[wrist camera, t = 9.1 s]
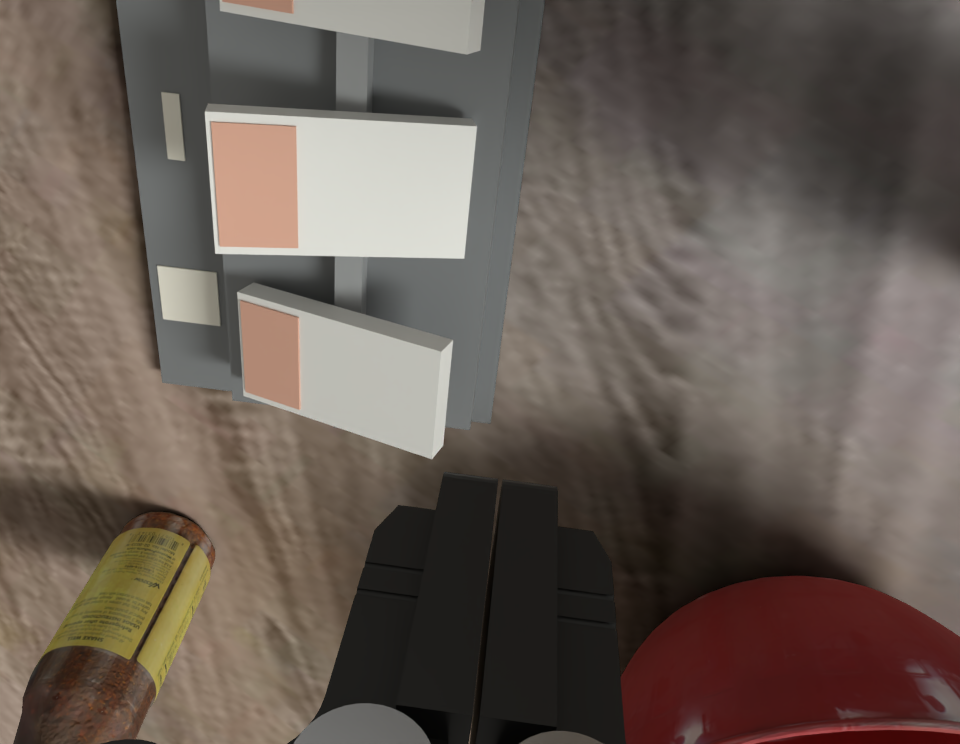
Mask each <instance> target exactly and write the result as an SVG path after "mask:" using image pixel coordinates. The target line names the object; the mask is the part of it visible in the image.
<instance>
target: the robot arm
mask: <svg viewBox="0 0 960 744" xmlns="http://www.w3.org/2000/svg"><path fill="white" fill-rule="evenodd" d="M497 485H498V479H494V478H487V477H479V476H472V475H465V474H457V473H450V472H444V474H443V479H442V483H441V488H440V493H439V498H438V503H437V508H436V510H431V509H423V508H416V507H409V506H401V505H398V506H397V507H396V508H395V509H394V511H393V512H392V513H391V514H390V515H389V516H388V517H387V518H386V519H385V520H384V521H383V522H382V523H381V524H380V525H379V526H378V527H377V528H376V529H375V531H374V534H373V537H372V541H371V544H370V548H369V551H368V554H367V558H366V561H365V567H364V568H363V571H362V574H361V578H360V581H359V584H358V588H357V594H356V595H355V598H354V601H353V605H352V608H351V611H350V615H349V618H348V621H347V625H346V628H345V631H344V635H343V638H342V641H341V645H340V648H339V651H338V655H337V658H336V662H335V665H334V668H333V672H332V675H331V678H330V682H329V685H328V688H327V692H326V695H325V698H324V700H323V703H322V705H321V708H320V709H319V711H318V713H317V714H316V716H315V718H314V719H313V720H312V722H311V723H310V724H309V725H308V726H307V727H306V728H305V729H304V730H303V731H302V732H301V733H300V734H299V735H298V736H297V737H296V738H295V739H293V740H292V741H291V742H289V743H288V744H468V742H469V736H470V729H471V737H470V744H626V739H625V728H624V715H623V703H622V690H621V677H620V665H619V652H618V640H617V631H616V614H615V602H613V599H614V589H613V576H612V564H611V561H610V559H609V557H608V556H607V554H606V552H605V551H604V549H603V547H602V546H601V544H600V542H599V541H598V539H597V537H596V536H595V534H594V532H593V531H587V530H579V529H572V528H565V527H558V491H557V487H555V486H548V485H540V484H533V483H526V482H518V481H511V480H503V481H502V486H501V493H500V500H499V507H498V513H497V520H496V527H495V534H494V541H493V548H492V554H491V561H490V568H489V559H490V550H491V541H492V531H493V522H494V513H495V504H496V494H497ZM488 568H489V575H488ZM487 577H488V583H487ZM486 587H487V591H486ZM485 596H486V599H485ZM484 605H485V608H484ZM483 614H484V617H483ZM482 624H483V626H482ZM481 633H482V635H481ZM480 642H481V644H480ZM479 651H480V654H479ZM478 661H479V663H478ZM477 670H478V672H477ZM476 679H477V681H476ZM475 688H476V691H475ZM474 698H475V700H474ZM473 707H474V709H473ZM472 716H473V719H472ZM471 723H472V728H471ZM102 744H156V743H153V742H149V741H144V740H137V739H123V740H115V741H109V742H106V743H102Z"/></svg>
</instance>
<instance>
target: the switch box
mask: <svg viewBox="0 0 960 744" xmlns="http://www.w3.org/2000/svg"><path fill="white" fill-rule="evenodd" d="M116 4H117V12H118V20H119V29H120V37H121V45H122V53H123V62H124V70H125V78H126V86H127V95H128V103H129V111H130V119H131V128H132V136H133V144H134V152H135V161H136V169H137V177H138V186H139V194H140V202H141V210H142V219H143V227H144V235H145V243H146V252H147V260H148V268H149V276H150V285H151V293H152V301H153V309H154V318H155V326H156V334H157V343H158V351H159V359H160V367H161V376H162V383H170V384H178V385H186V386H194V387H202V388H210V389H217V390H225V391H232V399H233V400H234V401H242V402H250V403H258V404H266V403H263V402H260V401H257V400H254V399H251V398H248V397H245V396H243V379H242V363H241V346H240V330H239V313H238V297H237V292H238V291H240V290H241V289H243V288H245V287H247V286H248V285H250V284H252V283H257V284H261V285H264V286H268V287H271V288H275V289H278V290H282V291H285V292H289V293H292V294H295V295H299V296H302V297H306V298H309V299H313V300H316V301H320V302H323V303H327V304H330V305H334V306H337V307H341V308H344V309H348V310H351V311H354V312H358V313H361V314H365V315H368V316H372V317H375V318H379V319H382V320H386V321H389V322H393V323H396V324H400V325H403V326H407V327H410V328H414V329H417V330H420V331H424V332H427V333H431V334H434V335H438V336H441V337H445V338H448V339H452V340H453V346H452V357H451V368H450V378H449V389H448V400H447V410H446V421H445V427H449V428H457V429H465V430H470V426H471V421H472V422H480V423H488V424H490V423H491V415H492V408H493V400H494V392H495V384H496V376H497V369H498V361H499V353H500V345H501V338H502V330H503V322H504V314H505V307H506V299H507V291H508V283H509V276H510V268H511V260H512V252H513V245H514V237H515V229H516V221H517V214H518V206H519V198H520V190H521V183H522V175H523V167H524V159H525V152H526V144H527V136H528V128H529V120H530V113H531V105H532V97H533V89H534V82H535V74H536V66H537V58H538V51H539V43H540V35H541V27H542V20H543V12H544V4H545V0H485V6H484V17H483V27H482V38H481V49H480V51H477V52H474V53H471V54H467V55H466V54H461V53H455V52H449V51H444V50H438V49H432V48H427V47H421V46H415V45H410V44H404V43H398V42H393V41H387V40H381V39H376V38H370V37H364V36H359V35H353V34H347V33H342V32H336V31H330V30H325V29H319V28H314V27H308V26H302V25H297V24H291V23H285V22H280V21H274V20H268V19H263V18H257V17H251V16H246V15H240V14H234V13H229V12H223V11H220V1H219V0H116ZM208 104H225V105H243V106H260V107H278V108H296V109H313V110H331V111H348V112H366V113H383V114H401V115H418V116H436V117H453V118H471V119H472V120H473V121H474V123H475V124H476V126H477V132H476V142H475V152H474V163H473V173H472V183H471V194H470V204H469V215H468V225H467V235H466V246H465V256H464V259H454V258H403V257H351V256H300V255H249V254H215V243H214V230H213V216H212V203H211V190H210V176H209V163H208V149H207V136H206V122H205V110H206V107H207V105H208ZM266 405H269V404H266ZM336 428H337V427H336Z"/></svg>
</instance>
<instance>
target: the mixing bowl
mask: <svg viewBox="0 0 960 744" xmlns="http://www.w3.org/2000/svg"><path fill="white" fill-rule="evenodd" d="M621 690H622V703H623V715H624V728H625V739H626V744H960V637H959V636H958V635H956V634H955V633H953V632H952V631H950V630H949V629H947V628H946V627H944V626H943V625H941V624H940V623H938V622H936V621H935V620H933V619H932V618H930V617H928V616H927V615H925V614H923V613H922V612H920V611H918V610H917V609H915V608H913V607H911V606H910V605H908V604H906V603H904V602H902V601H899V600H897V599H895V598H893V597H891V596H889V595H887V594H885V593H883V592H880V591H877V590H874V589H872V588H869V587H866V586H862V585H858V584H854V583H850V582H846V581H842V580H837V579H831V578H821V577H811V576H782V577H765V578H759V579H754V580H750V581H745V582H740V583H736V584H732V585H729V586H726V587H723V588H721V589H718V590H715V591H713V592H710V593H707V594H705V595H703V596H700V597H699V598H697V599H695V600H694V601H692V602H690V603H688V604H687V605H685V606H683V607H681V608H680V609H678V610H677V611H676V612H674V613H673V614H672V615H671V616H669V617H668V618H667V619H666V620H665V621H663V622H662V623H661V624H660V625H659V626H658V627H657V628H656V629H655V630H654V631H653V632H652V633H651V634H650V635H649V636H648V637H647V638H646V640H645V641H644V642H643V643H642V645H641V646H640V647H639V648H638V650H637V651H636V653H635V654H634V656H633V657H632V659H631V660H630V662H629V663H628V665H627V667H626V668H625V670H624V672H623V674H622V676H621Z"/></svg>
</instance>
